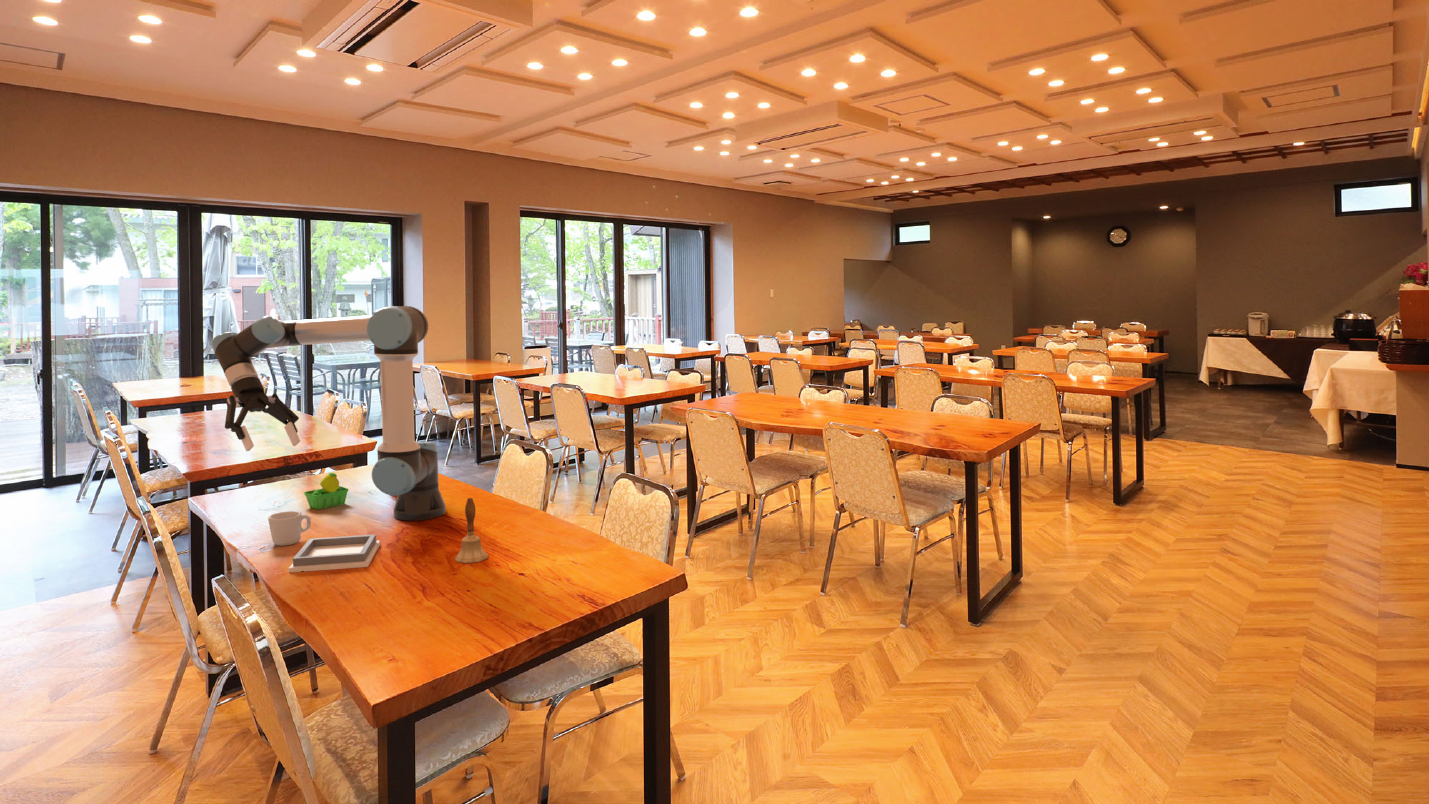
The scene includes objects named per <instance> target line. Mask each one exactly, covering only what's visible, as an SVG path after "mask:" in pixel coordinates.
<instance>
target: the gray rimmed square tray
mask: <svg viewBox="0 0 1429 804" xmlns="http://www.w3.org/2000/svg"><path fill="white" fill-rule="evenodd" d="M380 545H381V540H379V539H378V540H377V534H375V533H374V534H364V535H363V534H361V535H347V536H345V535H344V536H333V537H331V536H329V537H317V538H316V537H315V538H309V539H308V540H307V541H306V542H305V544H304V545H303V546H302V548H300V549H299V551H298V552H297V553H296V554H295V555H294V556H293V558H292V564H291V565H290V566H289V567H288V573H302V572H301V571H304V572H315V571H330V570H342V569H357V568H368V567H369V565H370V563H371V562H372V560H373V559H374V556H375V555H376V553H377V551H378V549H379V548H380Z"/></svg>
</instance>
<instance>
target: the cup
mask: <svg viewBox="0 0 1429 804" xmlns="http://www.w3.org/2000/svg"><path fill="white" fill-rule="evenodd" d="M304 519H306V520H305V521H306V525H305V527H302V522H303V520H304ZM311 520H312V519H311V517H310V516H309V515H307V514H302V513H301V512H299V511H295V510H294V511H292V510H291V511H281V512H277V513H273V514H271V515H269V516H268V517H267V521H268V524H269V530H270V535H271V539H272V540H271V541H272V543H273V544H274V545H275V546H277V547H278V546H280V547H281V546H282V547H283V546H291V545H295V544H297V543H298V542H299V541H300V540H301V533H304V532H306V531H308V530H309V529H310V528H311V524H312V521H311Z"/></svg>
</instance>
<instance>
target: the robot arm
mask: <svg viewBox="0 0 1429 804" xmlns="http://www.w3.org/2000/svg"><path fill="white" fill-rule="evenodd" d="M428 332H429V321H428V318H427V317H426V315H425V314H424V313H423V312H422V311H421V310H420V309H419V308H416V307H414V306H410V305H409V306H408V305H403V306H400V305H399V306H395V305H392V306H391V305H390V306H385V307H382V308H379V309H377V310H376V311H374V313H372V314H371V315H357V316H343V317H327V318H315V319H313V318H311V319H299V320H281V321H279V320H278V319H277V318H275V317H272V316H271V315H265V316H262V317H261V318H258V319H257V320H255V321H254V322H253V323H252V324H250V325H249V326H247V327H246V328H244V329H242V330H241V331H240V332H238V333H237V332H234V331H227V332H225V331H224V332H223V333H220V334H218V335H216V336H215V337H213V339H212V340H211V346H212V349H213V351H214V356H215V357H216V359H217V361H218V363H219V365H220V367H221V368H222V371H223V375H224V376H225V378H226V381H227V383H228V385H229V386H230V389H231V392H232V394H233V395H232V394H231V395H229V397H227V399H226V400H225V404H226V407H227V409H226V416H225V421H224V428H225V429H226V430H229V429H230V431H231V432H232V433H235V435H236V436H237V437H236V438H237V439H238V440H241V442H242V444H243V446H244V449H245V451H246V452H250V451H251V450H252V449H253V448H254V446H255V445H254V443H253V440H252V438H251V436H250V433H249V431H248V430H247V427H246V425H242V424H243V422H244V420H246V419H245V418H246V416H247V414H248V413H249V412H250V413H254V412H258V413H261V412H263V413H265V414H268V415H270V416H271V417H273V418H274V419H275V420H277V421H279V422H280V423H282V424H283V425H285V426H283V428H284V429H285V431H286V434H287V436H288V438H289V441H290V444H292V445H291V446H292V447H296V446H297V445H298V444H299V443H300V442H301V439H300V436H299V435H298V428H297V426H296V422H298V420H299V419H300V418H299V416H298V415H297V414H296V413H295V412H294V411H293V410H292V409H291V408H289V407H288V406H287V405H286V404H285V403H284V402H283V401H282V400H281V399H280V398H279V395H278V394H277V393H273V394H272V395H267V394H266V393H265V387H264V385H263V383H262V381H261V379H260V378H259V374H258V372H257V371H256V368H255V366H254V364H253V362H252V359H253V358H254V357H256V356H257V355H259V354H260V353H261V352H263V351H265V350H267V349H273V348H281V347H293V346H306V345H308V346H309V345H319V344H322V345H323V344H337V343H339V344H340V343H352V342H353V343H354V342H369V341H370V342H371V343H372V344H373V352H374V353H373V354H374V355H375V356H376V357H377V358H378V359H379V362H380V392H381V393H380V395H381V421H382V423H381V424H382V425H381V427H382V428H381V429H382V430H381V431H382V443H381V444H380V445H378V447H377V449H376V450H377V461H376V463H375V464H374V466H373V468H372V469H371V470H372V471H371V480H372V482H373V484H374V486H375V487H376V488H377V489H378V491H380V492H382V493H383V494H385V495H388V496H396V501H395V504H394V507H393V517H394V519H396V520H400V521H401V520H402V521H424V520H431V519H435V518H438V517H441V516H443V515H444V514H445V513H446V512H447V511H446V504H445V501H444V499H443V496H442V493H441V491H440V487H439V461H438V457H439V456H438V454H439V452H438V447H437V444H436V443H435V442H434V441H420V440H419V441H415V439H416V438H415V408H414V407H415V406H414V403H415V402H414V371H413V370H414V369H413V368H414V367H413V360H414V358H416V357H417V356H418V355H419V343H421V342H422V341H423V340H424V339H425V338H426V336H427V334H428ZM237 405H239V406H241V409H240V411H239V414H238V415H237V418H236V419H235V417H236V410H237Z"/></svg>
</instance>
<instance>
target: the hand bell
mask: <svg viewBox="0 0 1429 804" xmlns="http://www.w3.org/2000/svg"><path fill="white" fill-rule="evenodd" d="M464 515H465V519H466V521H467V526H466V527H467V532H466V535H465V536H464V537H462V539H461V547H460V550H459V552H458V554H457V555H455V558H454V560H455V562H457V563H461V564H462V563H463V564H473V563H479V562H482V561H485V560H487V559H488V558H489V555H488V553H487V552H485V550H484V549H483V547H482V543H481V538H480V536H477V535H475V530H474V529H475V525H474V522H475V517H476V505H475V502H474V499H473V497H468V498H467V499H466V504H465V507H464Z"/></svg>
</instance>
